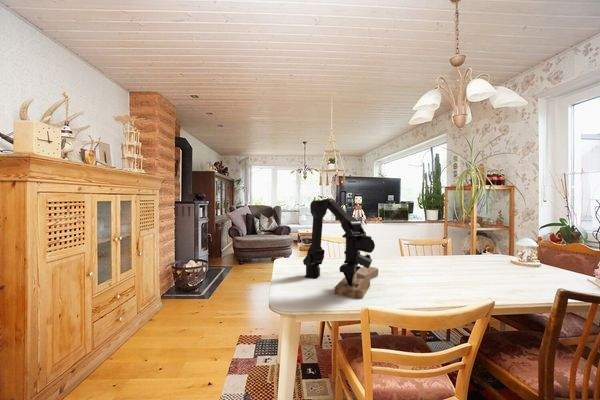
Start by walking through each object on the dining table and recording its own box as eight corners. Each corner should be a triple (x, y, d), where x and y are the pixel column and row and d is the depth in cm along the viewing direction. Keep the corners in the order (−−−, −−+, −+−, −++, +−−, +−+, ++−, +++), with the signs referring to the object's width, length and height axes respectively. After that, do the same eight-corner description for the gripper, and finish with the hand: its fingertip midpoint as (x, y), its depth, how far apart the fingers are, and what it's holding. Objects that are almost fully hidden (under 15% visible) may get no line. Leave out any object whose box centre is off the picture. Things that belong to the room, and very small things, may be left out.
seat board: (334, 294, 122) (334, 287, 122) (344, 282, 138) (345, 276, 138) (362, 298, 117) (362, 291, 117) (370, 286, 133) (370, 279, 133)
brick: (363, 283, 138) (364, 273, 138) (348, 280, 144) (349, 270, 144) (378, 276, 151) (379, 268, 151) (364, 273, 156) (364, 265, 156)
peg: (345, 289, 124) (345, 271, 124) (347, 286, 127) (348, 269, 127) (355, 291, 122) (355, 272, 122) (357, 288, 126) (357, 270, 126)
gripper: (366, 254, 113) (366, 293, 113) (374, 247, 130) (373, 281, 130) (339, 251, 117) (338, 289, 117) (350, 245, 134) (349, 277, 134)
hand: (351, 284), depth 125 cm, fingers closed on peg, 4 cm apart
